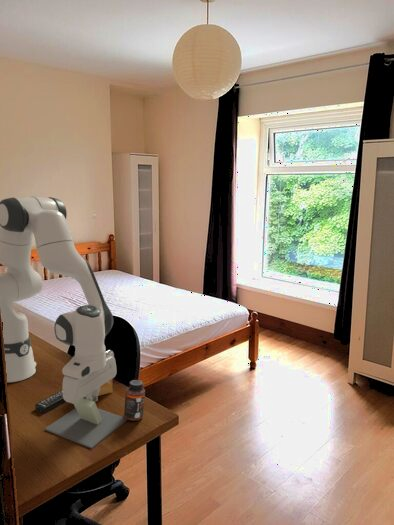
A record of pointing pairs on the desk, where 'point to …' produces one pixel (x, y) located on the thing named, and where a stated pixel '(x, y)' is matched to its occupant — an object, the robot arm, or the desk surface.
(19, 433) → the desk surface
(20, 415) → the desk surface
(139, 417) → the supplement bottle
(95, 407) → the tile
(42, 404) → the multiport hub
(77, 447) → the desk surface
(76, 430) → the mat
